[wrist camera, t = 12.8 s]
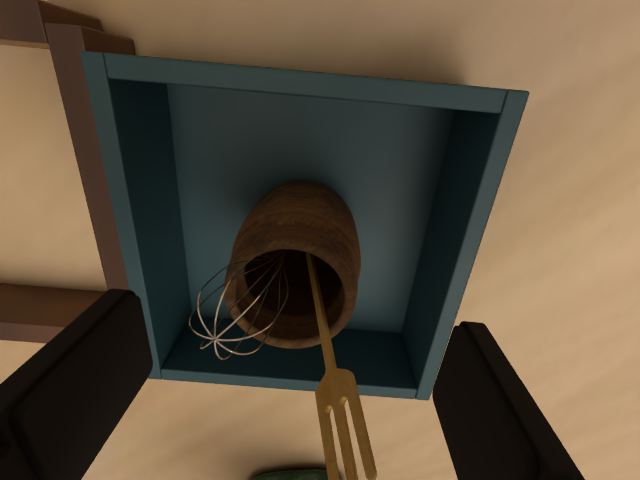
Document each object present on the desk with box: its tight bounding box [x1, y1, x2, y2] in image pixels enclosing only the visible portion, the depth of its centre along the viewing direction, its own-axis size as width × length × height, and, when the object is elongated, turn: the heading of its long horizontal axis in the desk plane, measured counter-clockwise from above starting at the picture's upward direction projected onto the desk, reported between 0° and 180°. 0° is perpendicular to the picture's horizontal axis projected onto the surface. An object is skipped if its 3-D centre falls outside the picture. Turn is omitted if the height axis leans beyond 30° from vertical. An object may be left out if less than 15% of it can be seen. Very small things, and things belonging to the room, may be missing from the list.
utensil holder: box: [189, 180, 377, 480], centre depth 13 cm, size 6×6×12 cm
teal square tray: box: [80, 51, 529, 400], centre depth 16 cm, size 16×16×5 cm
